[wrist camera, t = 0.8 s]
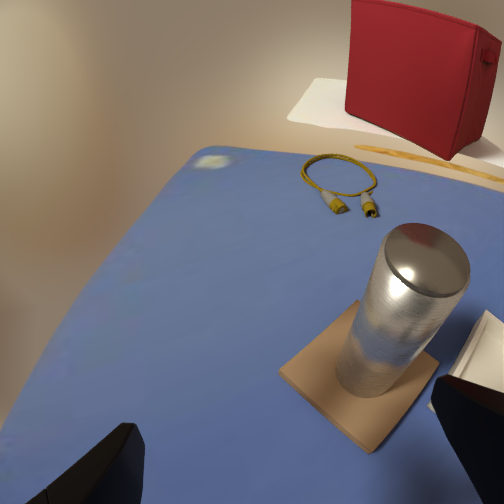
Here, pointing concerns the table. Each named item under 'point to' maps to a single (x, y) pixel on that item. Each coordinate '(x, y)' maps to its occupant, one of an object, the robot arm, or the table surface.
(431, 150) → the storage cube
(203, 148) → the table surface
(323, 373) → the walnut board
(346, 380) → the shiny metal canister
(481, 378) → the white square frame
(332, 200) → the extension cord
